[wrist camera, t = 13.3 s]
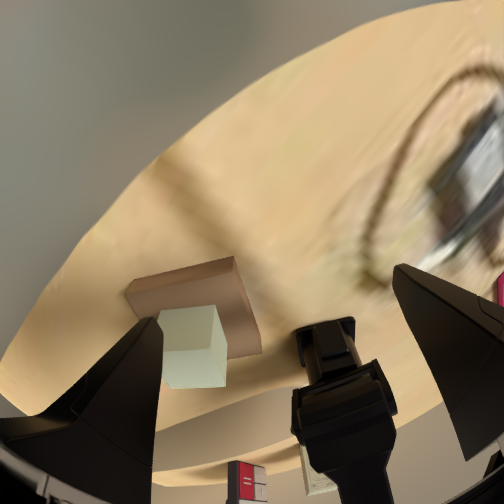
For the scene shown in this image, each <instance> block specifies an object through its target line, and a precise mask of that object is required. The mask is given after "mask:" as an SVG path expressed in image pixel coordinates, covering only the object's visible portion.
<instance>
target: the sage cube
mask: <svg viewBox="0 0 504 504" xmlns="http://www.w3.org/2000/svg"><path fill="white" fill-rule="evenodd" d="M157 322H158V324H159V326H160V327H161V329H162V331H163V334H164V345H163V368H162V377H163V379H164V381H165V382H166V384H167V385H168V387H169V388H170V389H188V388H213V387H226V365H227V341H226V338H225V335H224V332H223V329H222V325H221V322H220V319H219V316H218V312H217V309H216V306H215V305H209V306H200V307H191V308H181V309H171V310H161V311H160V314H159V317H158V320H157Z"/></svg>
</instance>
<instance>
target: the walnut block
mask: <svg viewBox="0 0 504 504" xmlns="http://www.w3.org/2000/svg"><path fill="white" fill-rule="evenodd" d="M125 297H126V298H127V300H128V302H129V303H130V305H131V307H132V308H133V310H134V312H135V313H136V315H137V316H138V318H139V320H141V319H142V318H143V317H148V316H153V317H155V319H156V320H158V317H159V314H160V311H161V310H171V309H181V308H191V307H200V306H209V305H215V306H216V309H217V312H218V316H219V319H220V322H221V325H222V329H223V332H224V335H225V338H226V341H227V359H234V358H240V357H246V356H251V355H257V354H262V346H261V335H260V332H259V329H258V326H257V323H256V320H255V318H254V315H253V312H252V309H251V306H250V303H249V300H248V297H247V294H246V291H245V288H244V285H243V282H242V280H241V277H240V274H239V271H238V268H237V265H236V262H235V259H234V256H231V257H227V258H223V259H219V260H214V261H210V262H206V263H202V264H198V265H194V266H189V267H185V268H181V269H177V270H173V271H169V272H164V273H160V274H156V275H152V276H148V277H144V278H139V279H135V280H133V282H132V284H131V285H130V287H129V289H128V291H127V293H126V295H125Z"/></svg>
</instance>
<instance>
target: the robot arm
mask: <svg viewBox="0 0 504 504" xmlns="http://www.w3.org/2000/svg"><path fill="white" fill-rule="evenodd" d="M392 287H393V290H394V293H395V295H396V297H397V300H398V302H399V305H400V307H401V309H402V312H403V314H404V317H405V319H406V322H407V324H408V326H409V328H410V330H411V331H412V333H413V335H414V337H415V339H416V341H417V343H418V345H419V347H420V349H421V351H422V353H423V355H424V357H425V359H426V361H427V364H428V366H429V368H430V370H431V372H432V374H433V377H434V379H435V381H436V383H437V386H438V388H439V390H440V393H441V395H442V397H443V400H444V402H445V405H446V407H447V410H448V412H449V414H450V418H451V420H452V423H453V426H454V428H455V431H456V434H457V437H458V440H459V443H460V446H461V449H462V452H463V455H464V458H465V461H468V460H470V459H472V458H473V457H475V456H476V455H478V454H479V453H481V452H482V451H484V450H485V449H487V448H488V447H490V446H491V445H492V444H494V443H495V442H498V444H499V447H500V450H499V451H497V452H496V453H495V454H493V455H492V456H491V458H490V461H489V464H488V466H487V469H486V472H485V474H484V476H483V479H482V480H481V481H479V482H478V483H476V484H474V485H473V486H471V487H470V488H468V489H467V490H465V491H463V492H462V493H460V494H458V495H457V496H455V497H453V498H451V499H450V500H448V501H446V502H444V503H442V504H504V307H503V306H500V305H498V304H495V303H493V302H491V301H489V300H487V299H484V298H482V297H480V296H477V295H476V294H474V293H472V292H469V291H467V290H465V289H463V288H461V287H458V286H456V285H454V284H452V283H449V282H447V281H445V280H443V279H440V278H438V277H436V276H434V275H431V274H429V273H427V272H424V271H422V270H419V269H417V268H415V267H412V266H410V265H408V264H405V263H402V264H399V265H395V266H394V269H393V281H392ZM295 333H296V339H297V345H298V350H299V356H300V362H301V366H302V367H306V370H307V375H308V380H309V386H306V387H303V388H300V389H298V388H297V389H294V390H293V396H292V425H291V433H292V434H293V435H295V436H296V437H297V439H298V441H299V443H300V445H301V446H303V447H304V446H305V447H306V451H307V454H308V458H309V463H310V466H311V467H312V468H313V469H314V470H315V471H316V472H317V473H318V474H321V473H323V474H324V475H325V476H326V477H328V478H329V479H330V480H331V481H333V482H334V483H335V484H336V485H337V487H338V491H339V495H340V499H341V503H342V504H394V500H393V496H392V492H391V488H390V484H389V480H388V476H387V472H386V466H387V464H388V461H389V458H390V455H391V452H392V450H393V447H394V443H395V439H396V429H395V426H394V422H393V419H392V416H394V415H396V414H398V411H397V406H396V402H395V399H394V396H393V393H392V390H391V387H390V385H389V383H388V381H387V379H386V377H385V375H384V373H383V371H382V369H381V367H380V365H379V363H378V361H377V359H374V360H372V361H371V362H369V363H367V364H365V365H362V363H361V360H360V357H359V355H358V352H357V350H356V347H355V345H354V343H355V319H354V317H347V318H343V319H339V320H335V321H331V322H327V323H323V324H319V325H314V326H310V327H306V328H301V329H298V330H296V332H295ZM299 333H301V334H299ZM163 345H164V334H163V331H162V329H161V327H160V326H159V324H158V322H157V320H156V319H155V317H153V316H148V317H143V318H142V319H141V320H140V321H139V322H138V323H137V324H136V325H135V326H134V327H132V328H131V329H130V330H129V331H128V332H127V333H126V334H125V335H124V336H123V337H122V338H121V339H120V340H119V341H118V342H117V343H116V344H115V345H114V346H113V347H112V348H111V349H110V350H109V351H108V352H107V353H106V354H104V355H103V356H102V357H101V358H100V359H99V360H98V361H97V362H96V363H95V364H94V365H93V366H92V367H91V368H90V369H89V370H88V371H87V373H85V374H84V375H83V376H82V377H81V378H80V379H79V380H78V381H77V382H76V383H75V384H74V385H73V386H72V387H71V388H70V389H68V390H67V391H66V392H65V393H64V394H63V395H62V396H61V397H59V398H58V399H57V400H56V401H55V402H54V403H53V404H51V405H50V406H49V407H48V408H47V409H46V410H44V411H43V412H41V413H40V414H37V415H34V416H27V417H13V418H0V448H2V449H3V450H2V453H1V456H0V504H151V484H152V468H151V467H152V464H153V463H152V462H153V450H154V438H155V427H156V418H157V409H158V400H159V392H160V385H161V377H162V368H163Z"/></svg>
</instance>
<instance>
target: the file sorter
mask: <svg viewBox="0 0 504 504" xmlns="http://www.w3.org/2000/svg"><path fill="white" fill-rule="evenodd" d="M498 298H499V305H500V306H503V307H504V273H503V274H502V275H501V276H500V277H499V278H498Z"/></svg>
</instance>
